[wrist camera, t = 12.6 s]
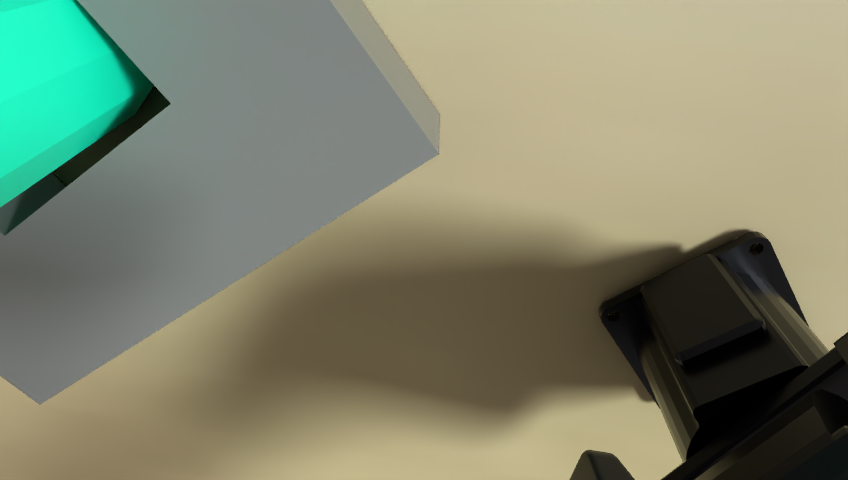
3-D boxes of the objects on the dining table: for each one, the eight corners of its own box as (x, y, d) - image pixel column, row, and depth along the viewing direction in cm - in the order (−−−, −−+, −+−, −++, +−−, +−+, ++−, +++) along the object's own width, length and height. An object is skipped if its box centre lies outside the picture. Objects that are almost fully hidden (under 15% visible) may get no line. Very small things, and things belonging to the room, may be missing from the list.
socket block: (439, 114, 19) (439, 153, 16) (89, 343, 25) (39, 404, 22) (-38, -582, 12) (-199, -743, 9) (-381, -43, 18) (-552, -32, 15)
